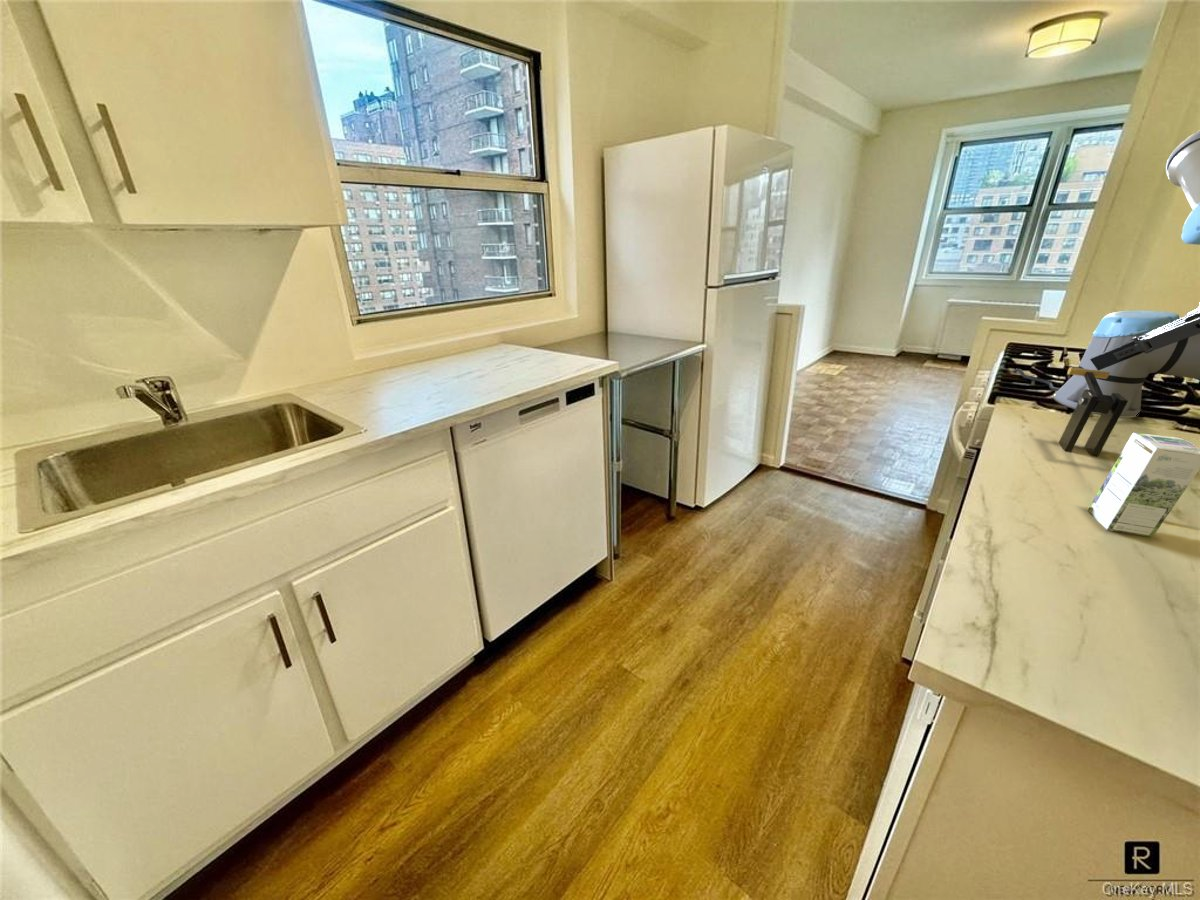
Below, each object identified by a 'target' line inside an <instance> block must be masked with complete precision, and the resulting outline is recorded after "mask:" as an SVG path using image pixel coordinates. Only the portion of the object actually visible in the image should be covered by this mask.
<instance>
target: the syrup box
mask: <svg viewBox="0 0 1200 900" xmlns="http://www.w3.org/2000/svg"><path fill="white" fill-rule="evenodd" d="M1199 470H1200V447H1198V445H1196V444H1194V443H1193V442H1191V441H1189V440H1186V439H1184V438H1182V437H1177V436H1167V435H1157V434H1150V433H1149V434H1148V433H1139V432H1133V433H1131V435H1130V436H1129V439H1128V441H1127V442H1126V443H1125V445H1124V447H1123V449H1122V450H1121V452H1120V454H1119V456H1118V457H1117V460H1116V461H1115V462H1114V464H1113V466H1112V468H1111V469H1110V471H1109V473H1108V474H1107V476H1106V478H1105V480H1104V482H1103V484H1102V485H1101V487H1100V488H1099V490H1098V492H1097V494H1096V495H1095V497H1094V498H1093V500H1092V501H1091V504H1090V507H1088V509H1087V511H1088V513H1089V514H1090V515H1091V516H1092V517H1093V518H1094V519H1095V520H1096V521H1097V522H1098V523H1099V524H1100V525H1101V526H1102V527H1103V528H1104V529H1105V530H1107V531H1111V532H1118V533H1123V534H1130V535H1135V536H1142V537H1147V538H1148V537H1149V538H1153V537H1154V536H1155V535H1156V533H1157V531H1158V530H1159V528H1160V527H1161V526H1162V524H1163V523H1164V521H1165V520H1166V519H1167V517H1168V515H1169V514H1170V513H1171V512H1172V510H1173V509H1174V507H1175V506H1176V504H1177V503H1178V501H1179V500H1180V498H1181V497H1182V495H1183V494H1184V492H1185V491H1186V489H1187V488H1188V487H1189V485H1190V484H1191V482H1192V481H1193V479H1194V478H1195V476H1196V475H1197V473H1198V472H1199Z"/></svg>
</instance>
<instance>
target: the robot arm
mask: <svg viewBox="0 0 1200 900" xmlns="http://www.w3.org/2000/svg"><path fill="white" fill-rule="evenodd" d="M1165 174H1166V176H1167V179H1168V181H1169V182H1170V183H1171V184H1172V185H1174V186H1176V187H1178V188H1179V187H1180V188H1181V189H1182V191H1183V193H1184V195H1185V197H1186V200H1187V201H1188V203H1189V206H1190V207H1191V212H1190V213H1189V215H1188V216H1187V218H1186V220H1185V222H1184V224H1183V226H1182V233H1181V236H1180V238H1181V240H1182V242H1183V243H1185V244H1187V245H1196V246H1198V245H1199V246H1200V130H1198V131H1196V132H1194V133H1192V134H1191V135H1189V136H1187V138H1185V139H1184V140H1183V141H1181V142H1180V143H1179V144H1178V145H1177V146H1176V147H1175V148H1174V150H1173V151H1172V152H1171V153H1170V155H1169V157H1168V158H1167V160H1166V164H1165ZM1077 368H1081V369H1090V370H1098V371H1107V372H1109V376H1108V378H1106V379H1104V378H1096V377H1095V378H1096V380H1097V382H1098V385H1099V387H1100V389H1101V391H1102V393H1103V395H1109V396H1111V395H1112V393H1119V394H1120V395H1121V396H1123V397H1124V398H1125V399H1126V400H1127V401H1128V402H1127V404H1126V406H1125V408H1124V409H1123V411H1122V413H1121V415H1120V417H1119V418H1135V417H1137V416H1138V415H1139V414H1140V412H1141V406H1142V393H1143V392H1142V390H1143V385H1144V383H1145V381H1146V380H1147V377H1148V376H1149V374H1157V375H1164V376H1172V377H1180V378H1188V379H1197V380H1200V303H1199V304H1198V307H1197V308H1196V309H1194V310H1192V311H1190V312H1188V313H1186V314H1185V315H1184V316H1182V317H1180V314H1179V313H1175V312H1171V311H1161V310H1160V311H1159V310H1123V311H1116V312H1112V313H1109V314H1107V315H1104V317H1103V318H1101V320H1100V322H1099V323H1098V325H1097V327H1096V328H1095V330H1094V331H1093V332H1092V337H1091V339H1090V341H1089V343H1088V345H1087V347H1086V349H1085V352H1084V354H1083V356H1082V357H1081V360H1080V362H1079V365H1078V367H1077ZM1011 372H1012V373H1017V372H1018V373H1019V374H1020V376H1021V377H1022V378H1024V379H1027V380H1030V381H1034V382H1038V383H1043V384H1046V385H1048V387H1049V389H1050V390H1052V391H1056V393H1055V394H1054V395H1053V400H1054V401H1055V402H1057V403H1058V404H1060V405H1062V406H1064V407H1067V408H1070V409H1073V410H1075V408H1076V406H1077V404H1078V402H1079V400H1080V398H1081V396H1082V394H1083V392H1084V390H1085V389H1088V390H1090V389H1089V387H1088V384H1087V382H1086V379H1085V377H1084V376H1079V375H1072V376H1071V377H1070V378H1069V379H1068V380H1067V381H1066V382H1065V383H1064V384H1063V385H1062V386H1061V387H1055V386H1054V383H1052V382H1051V381H1049V380H1045V379H1042V378H1037V377H1033V376H1030V375H1027V374H1026V373H1025V372H1024V371H1023V370H1022V369H1021V368H1016V369H1013V370H1012V371H1011ZM1138 413H1139V414H1138ZM1091 414H1093V415H1098V416H1101V414H1102V413H1097V412H1091ZM1137 414H1138V415H1137ZM1136 415H1137V416H1136Z"/></svg>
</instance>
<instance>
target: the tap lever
mask: <svg viewBox="0 0 1200 900" xmlns="http://www.w3.org/2000/svg"><path fill="white" fill-rule="evenodd" d="M1067 375H1072V376H1073V375H1079V376H1084V377H1085V379H1086V382H1087V384H1088V387H1089V389H1090V390H1092V391H1093V392H1094V393H1095V394H1096V395H1097V396H1098V397H1099V399H1098V401H1097V403H1096V404H1095V406H1094V408H1093V410H1092V412H1097V413H1104V414H1107V413H1108V412H1109V410H1110V409H1111V407H1112V406H1113V404H1114V402H1113V400H1112V398H1111V396H1109V395H1103V393H1102V391H1101V389H1100V387H1099V385H1098V382H1097V380H1096V378H1104V379H1106V378H1108V376H1109V372H1107V371H1098V370H1090V369H1081V368H1078V367H1072V366H1070V367H1068V369H1067ZM1095 377H1096V378H1095Z"/></svg>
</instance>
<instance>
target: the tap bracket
mask: <svg viewBox="0 0 1200 900" xmlns="http://www.w3.org/2000/svg"><path fill="white" fill-rule="evenodd" d="M1111 398H1112V400H1113V402H1114V404H1113V406H1112V407H1111V409H1110V410H1109V412H1108V413H1107V414H1104V413H1102V414H1101V415H1099V418H1098V419H1097V421H1096V423H1095V424H1094V427H1093V429H1092V430H1091V432H1090V435H1089V436H1088V439H1087V441H1086V442H1085V444H1084V446H1083V448H1084V449H1085V450H1086V451H1087V453H1088V454H1089V455H1090V456H1091V457H1095V458H1098V457H1099V456H1100V453H1101V452H1102V451H1103V448H1104V446H1105V445H1106V442H1107V441H1108V439H1109V438H1110V435H1111V434H1112V432H1113V430H1114V428H1115V426H1116V424H1117V423H1118V421H1119V419H1120V418H1121V417H1120V415H1121V413H1122V411H1123V409H1124V408H1125V406H1126V404H1127V402H1128V401H1127V400H1126V399H1125V398H1124V397H1123V396H1121V395H1120V394H1119V393H1112V395H1111ZM1098 399H1099V397H1098V396H1097V395H1096V394H1095V393H1094V392H1093V391H1092V390H1088V389H1085V390H1084V392H1083V394H1082V396H1081V398H1080V400H1079V402H1078V404H1077V406H1076V408H1075V409H1073V412H1072V415H1071V417H1070V419H1069V420H1068V423H1067V424H1066V427H1065V429H1064V431H1063V433H1062V435H1061V436H1060V439H1059V441H1058V444H1059V446H1060V447H1061V449H1062V450H1063V451H1064V452H1066V453H1072V451H1073V449H1074V448H1075V445H1076V444H1077V441H1078V439H1079V438H1080V436H1081V434H1082V432H1083V430H1084V428H1085V426H1086V424H1087V422H1088V420H1089V418H1090V416H1091V414H1092V413H1091V412H1092V410H1093V408H1094V406H1095V404H1096V403H1097V401H1098Z"/></svg>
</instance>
